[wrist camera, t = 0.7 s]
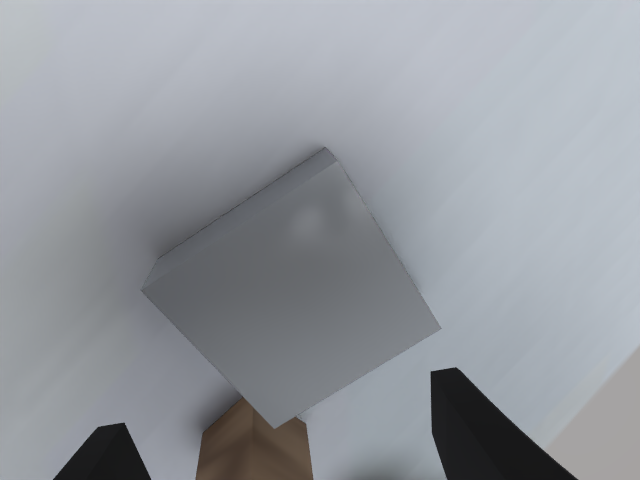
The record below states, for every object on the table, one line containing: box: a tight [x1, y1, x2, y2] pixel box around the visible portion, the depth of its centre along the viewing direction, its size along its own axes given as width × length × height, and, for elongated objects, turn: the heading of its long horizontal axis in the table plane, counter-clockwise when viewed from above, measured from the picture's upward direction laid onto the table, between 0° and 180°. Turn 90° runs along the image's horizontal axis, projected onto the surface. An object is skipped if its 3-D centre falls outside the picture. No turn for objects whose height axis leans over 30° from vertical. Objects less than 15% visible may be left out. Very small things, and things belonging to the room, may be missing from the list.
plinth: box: [141, 148, 442, 429], centre depth 19 cm, size 9×9×3 cm
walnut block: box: [195, 397, 313, 480], centre depth 20 cm, size 4×4×6 cm
